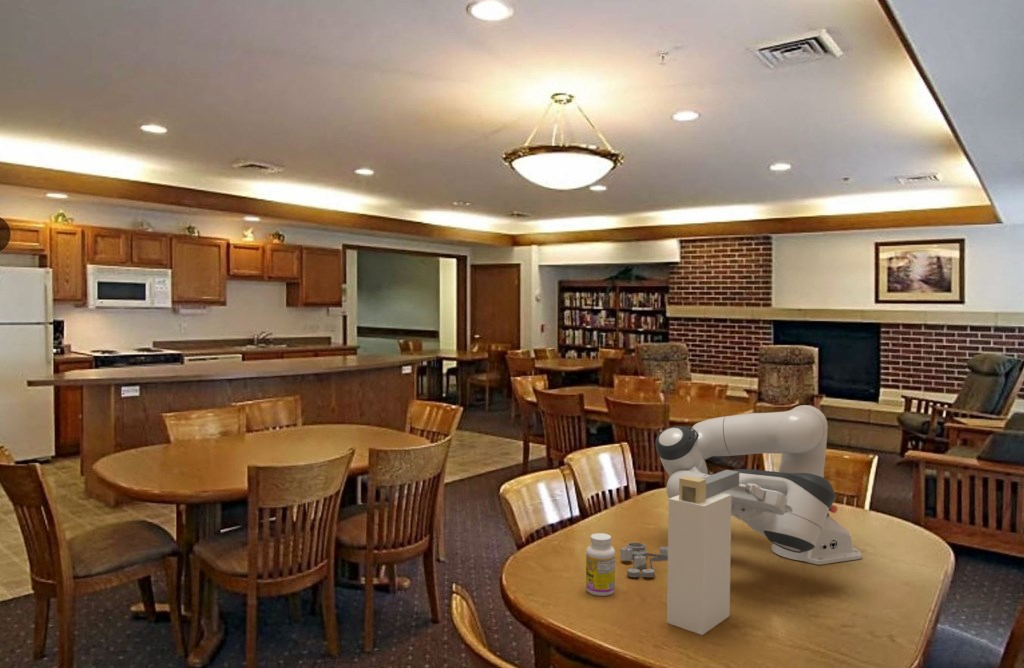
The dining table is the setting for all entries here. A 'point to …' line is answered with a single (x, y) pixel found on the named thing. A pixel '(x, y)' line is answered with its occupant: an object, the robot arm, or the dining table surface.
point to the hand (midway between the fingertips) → (728, 483)
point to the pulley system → (641, 559)
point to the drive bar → (706, 486)
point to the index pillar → (699, 562)
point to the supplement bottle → (600, 566)
